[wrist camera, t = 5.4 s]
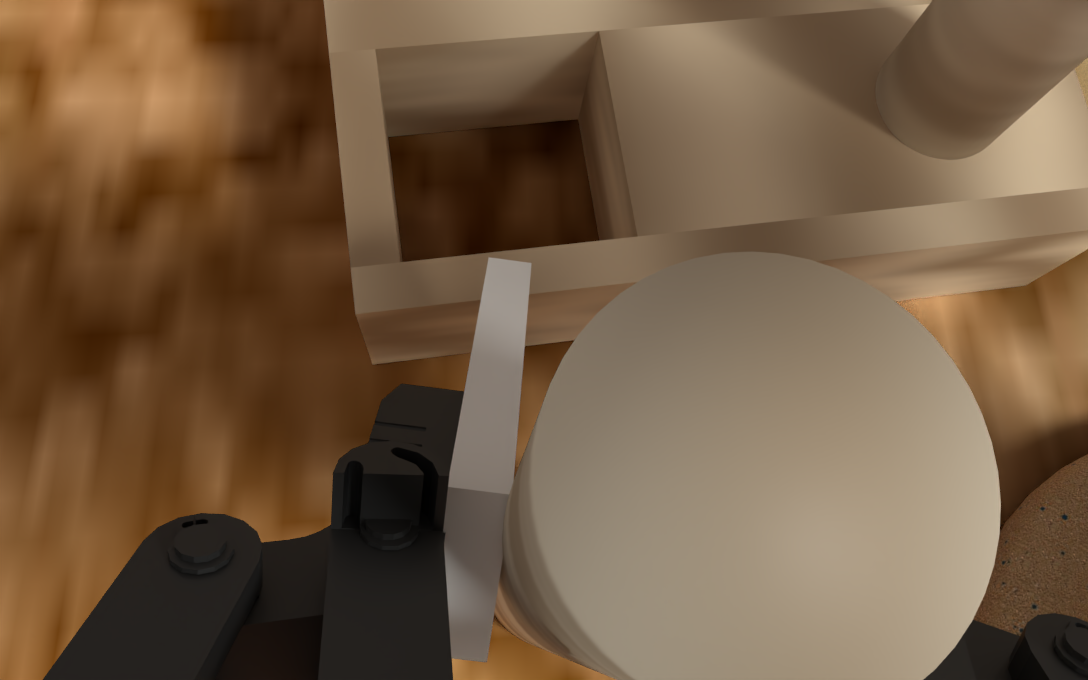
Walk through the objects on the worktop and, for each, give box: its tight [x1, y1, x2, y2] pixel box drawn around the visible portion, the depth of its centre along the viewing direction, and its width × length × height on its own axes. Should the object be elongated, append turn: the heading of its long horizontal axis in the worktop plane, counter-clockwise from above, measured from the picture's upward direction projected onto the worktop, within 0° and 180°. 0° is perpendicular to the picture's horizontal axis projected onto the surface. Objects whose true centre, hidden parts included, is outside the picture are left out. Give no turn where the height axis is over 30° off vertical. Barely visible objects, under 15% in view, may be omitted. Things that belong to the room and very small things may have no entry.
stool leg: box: [494, 251, 1001, 680], centre depth 14 cm, size 3×3×16 cm
